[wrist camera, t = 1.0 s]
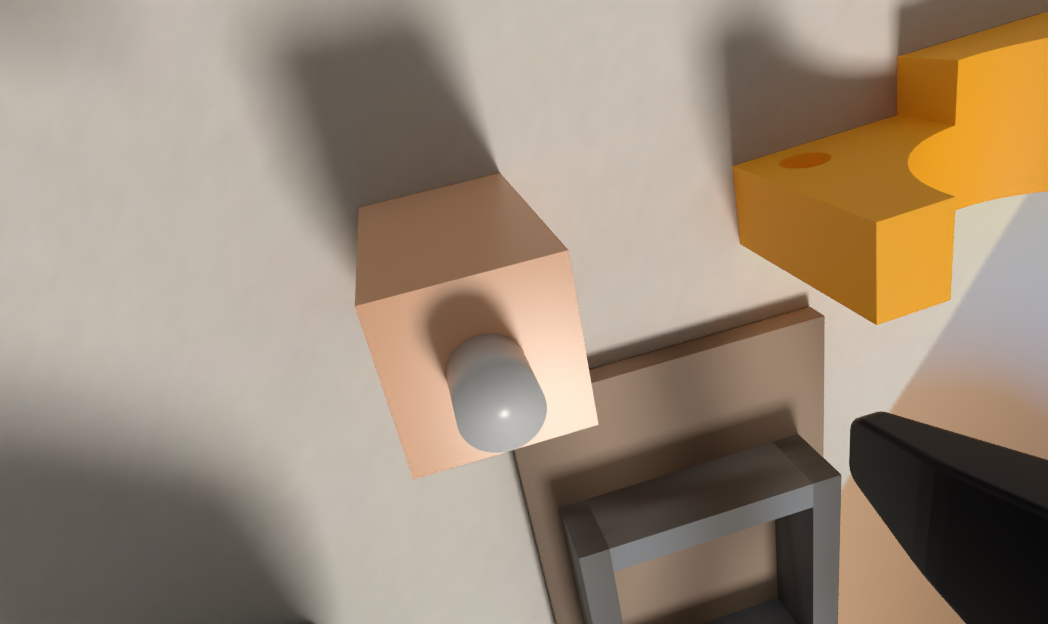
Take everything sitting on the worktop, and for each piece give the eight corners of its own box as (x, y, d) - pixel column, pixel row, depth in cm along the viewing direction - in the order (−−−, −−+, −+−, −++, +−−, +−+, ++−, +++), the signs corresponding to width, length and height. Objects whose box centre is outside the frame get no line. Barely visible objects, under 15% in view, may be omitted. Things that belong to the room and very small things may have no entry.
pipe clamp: (1081, 0, 20) (1363, -10, 15) (1064, 138, 22) (1308, 178, 17) (723, 107, 19) (876, 143, 14) (737, 242, 21) (876, 325, 15)
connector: (398, 334, 20) (418, 533, 12) (358, 207, 18) (353, 345, 10) (526, 299, 20) (625, 470, 13) (499, 172, 18) (595, 280, 11)
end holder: (583, 733, 29) (607, 811, 26) (499, 395, 21) (520, 453, 18) (810, 653, 30) (857, 719, 27) (809, 307, 23) (874, 348, 20)
